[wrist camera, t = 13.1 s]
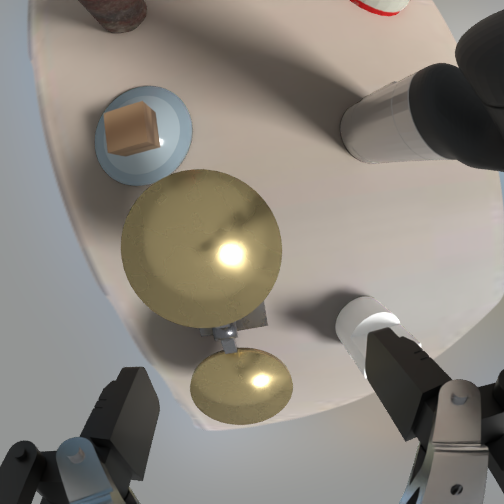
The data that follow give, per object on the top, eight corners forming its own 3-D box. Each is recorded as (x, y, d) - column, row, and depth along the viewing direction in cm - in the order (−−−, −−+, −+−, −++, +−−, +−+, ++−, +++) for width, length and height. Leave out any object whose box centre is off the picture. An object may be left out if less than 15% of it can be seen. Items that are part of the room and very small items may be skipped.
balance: (156, 185, 36) (106, 190, 20) (252, 167, 36) (267, 155, 20) (208, 384, 44) (203, 460, 28) (284, 372, 45) (304, 446, 29)
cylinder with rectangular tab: (335, 349, 44) (361, 394, 33) (334, 302, 42) (366, 342, 30) (382, 337, 45) (415, 375, 33) (384, 291, 42) (425, 323, 31)
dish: (126, 77, 32) (123, 74, 30) (210, 108, 34) (210, 106, 33) (84, 164, 34) (80, 164, 33) (164, 201, 37) (162, 202, 35)
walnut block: (121, 122, 32) (103, 113, 26) (155, 112, 32) (142, 100, 27) (125, 156, 34) (107, 153, 28) (160, 147, 34) (147, 141, 28)
